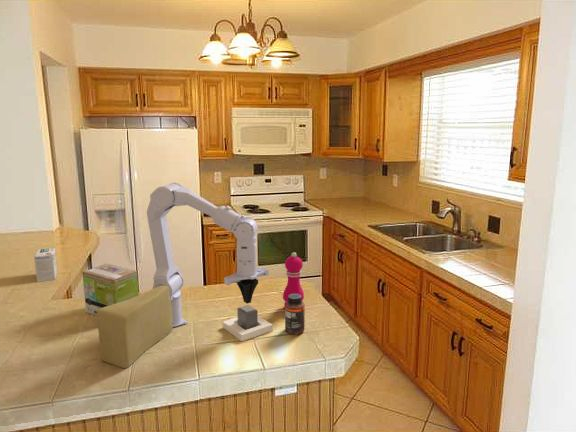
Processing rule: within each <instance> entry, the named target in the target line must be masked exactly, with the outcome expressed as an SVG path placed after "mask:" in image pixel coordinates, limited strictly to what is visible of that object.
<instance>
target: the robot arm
mask: <svg viewBox="0 0 576 432" xmlns="http://www.w3.org/2000/svg"><path fill="white" fill-rule="evenodd" d="M149 197H150V201H149V202H148V206H147V210H146V218H147V223H148V228H149V234H150V239H151V244H152V249H153V250H152V251H153V255H154V262H155V267H156V269H155V273H154V274H153V286H152V289H154V288H156V287H159V286H167V287H168V288H169V295H170V301H171V309H172V329H173V328H175V327H179V326H182V325H185V324H188V321H187V320H186V319H185V318H184V317H183V313H182V312H183V311H182V310H183V309H182V293H181V288H182V287H183V286H184V282H185V280H184V278H183V275H182V274H181V272H180V268H179V266H177V265H176V264H175V260H174V254H173V249H172V243H171V237H170V232H169V225H168V220H167V215H168V214H169V212H170V211H171V210H172V209H173V208H174V207H181V206H182V207H183V206H189V207H191V208H193V209H195V210H196V211H199V212H201V213H203V214H205V215H207V216H209V217H211V219H212V221H213V223H214V224H215V225H217V226H219V227H221V228H222V229H225V230H226V231H228V232H230V233H233V236H234V237H235V238H236V262H237V263H236V272H234V273H233V274H230V275H228V276H224V277H223V281H224V282H223V284H224V285H227V286H230V285H232V284H234V283H236V284H237V287H238V288H239V291H240V293H241V296H242V299H243V302H244V303H246V305H249V304H251V303H252V299H253V295H254V292H255V290H256V287H257V286H258V284H259V279H258V278H259V277H263V276H265V277H266V276H269V269H268V268H266V267H262V268H257V236H256V234H257V233H258V230H259V225H258V223H257V221H256V220H255V219H253V217H250V216H247V217H246V216H245V215H244V214H239V213H238V212H236V211H233V209H232V207H231V206H229V205H227V206H225V205H221V206H217V205H215V204H213V203H212V202H210V201H209V200H208V199H206V198H203V197H202V196H200V195H198V194H197V193H195V192H194V191H192V190H191V189H190V188H188V187H186V186H183V185H182V184H180V183H177V182H172V183H169V184H166V185H164V186H159V187H157V188H155V189H154V191H152V192H151V193H150V195H149Z"/></svg>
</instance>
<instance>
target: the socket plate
mask: <svg viewBox="0 0 576 432" xmlns="http://www.w3.org/2000/svg"><path fill="white" fill-rule="evenodd" d="M222 328H223V329H225V330H226V331H227V332H228V333H229V334H231V335H232V336H234V337H235V338H236V339H238V340H239V341H241V342H244V341H247V340H249V339H254V338H255V337H259V336H261V335H264V334H267V333H271V332H273V329H274V328H273V324H272V323H270V322H269V321H268V320H265V319H264V318H262V317H261V316H259V315H258V326H256V327H253V328H250V329H247V330H244V329H243V328H242V327H240V326H239V325H238V316H237V317H232V318H230V319H227V320H224V321H222Z"/></svg>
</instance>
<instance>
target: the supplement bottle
mask: <svg viewBox="0 0 576 432" xmlns="http://www.w3.org/2000/svg"><path fill="white" fill-rule="evenodd" d="M301 300H302V299H301V295H299V294H290V295H289V296H288V301H287V302H286V304H285V308H284V313H285V314H284V318H285V319H284V325H285V326H284V328H285V329H284V330H285V332H287V333H288V334H290V335H298V334H302V333H303V332H304V331H305V324H306V323H305V321H306V320H305V313H306V312H305V308H306V307H305V303H304V302H303V301H301Z"/></svg>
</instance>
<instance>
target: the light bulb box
mask: <svg viewBox="0 0 576 432" xmlns="http://www.w3.org/2000/svg"><path fill="white" fill-rule="evenodd" d="M56 257H57V256H56V250H55V247H51V248H50V247H49V248H40V249H36V252H35V255H34V259H33V260H34V268H35V274H36V275H35V276H36V281H37V282H38V283H39V282H47V281H48V282H49V281H55V280H56V277H57V273H58V269H57V258H56Z"/></svg>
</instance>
